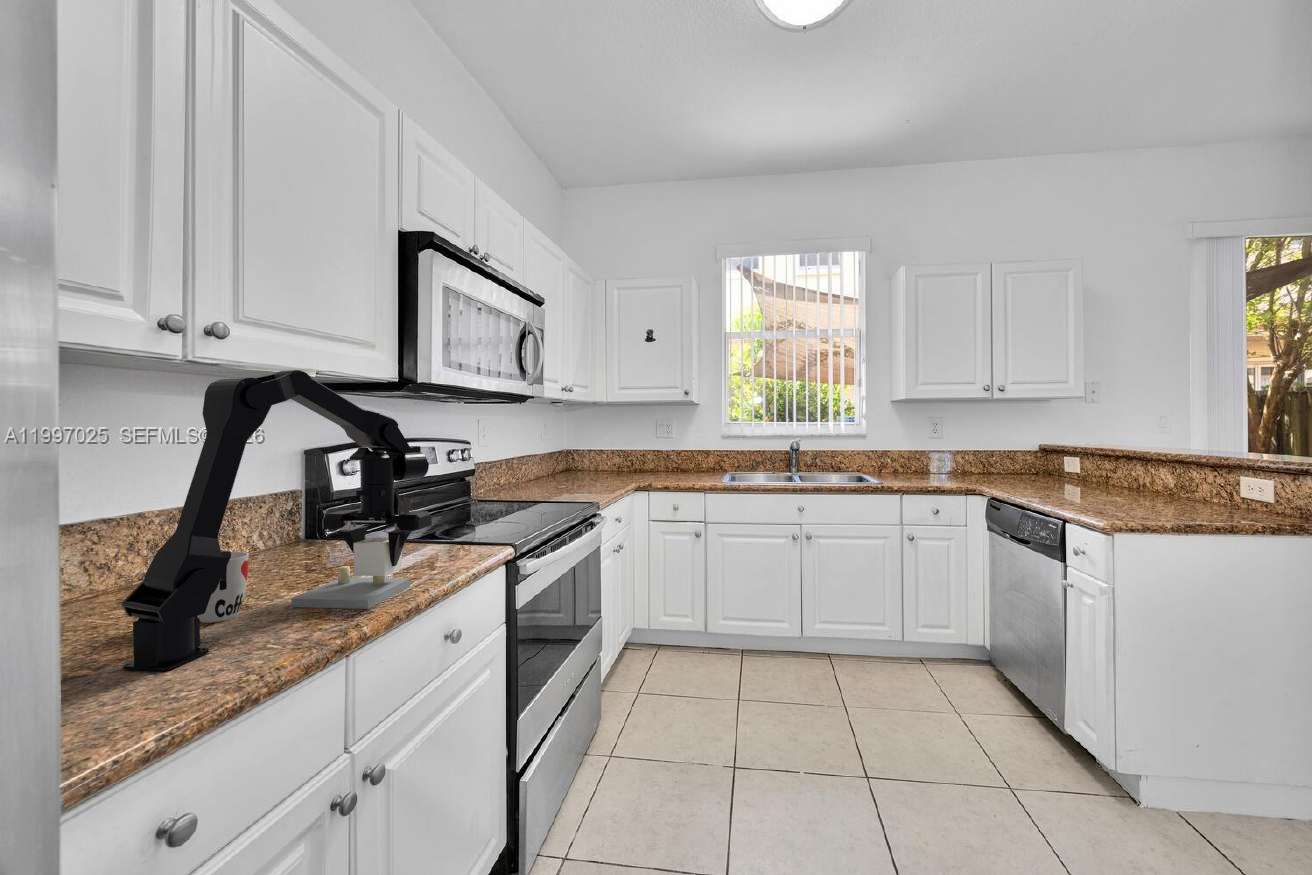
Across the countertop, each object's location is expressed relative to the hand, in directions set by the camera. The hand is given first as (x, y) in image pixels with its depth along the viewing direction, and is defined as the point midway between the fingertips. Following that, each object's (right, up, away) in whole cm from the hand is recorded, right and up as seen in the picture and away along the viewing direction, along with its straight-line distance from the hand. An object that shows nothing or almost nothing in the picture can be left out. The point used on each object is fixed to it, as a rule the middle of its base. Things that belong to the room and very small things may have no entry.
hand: (378, 565), depth 108 cm
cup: (-19, -6, -14) cm, 25 cm away
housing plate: (-3, -5, -3) cm, 7 cm away
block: (0, -1, 0) cm, 1 cm away
